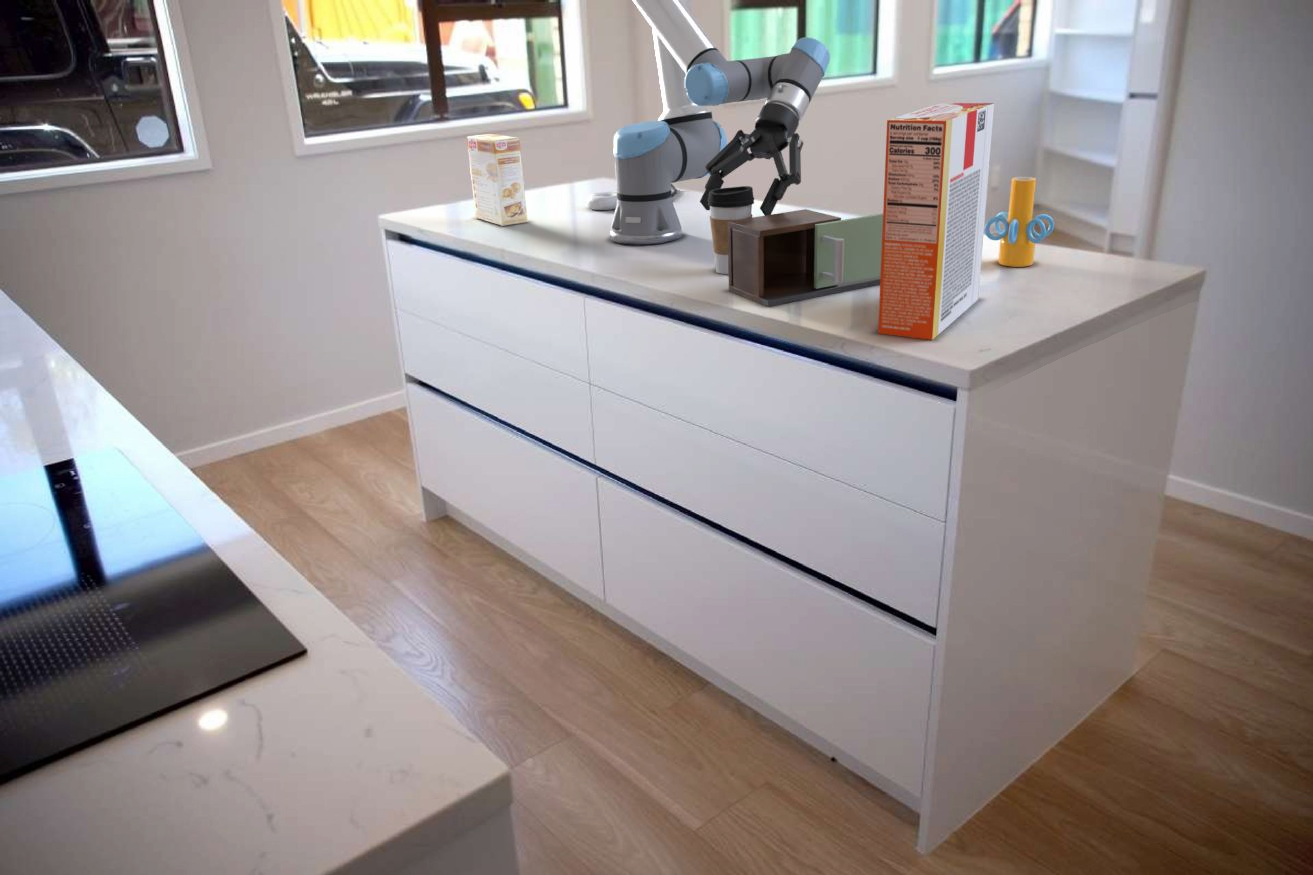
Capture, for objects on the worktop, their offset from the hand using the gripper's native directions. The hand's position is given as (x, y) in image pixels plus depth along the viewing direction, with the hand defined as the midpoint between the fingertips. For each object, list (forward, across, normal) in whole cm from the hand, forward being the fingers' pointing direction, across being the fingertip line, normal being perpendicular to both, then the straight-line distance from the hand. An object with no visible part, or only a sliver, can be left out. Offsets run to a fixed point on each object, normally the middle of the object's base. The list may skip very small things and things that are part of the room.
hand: (733, 209), depth 181 cm
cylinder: (-13, +42, +28) cm, 52 cm away
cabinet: (+10, +19, +6) cm, 22 cm away
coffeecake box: (+1, -78, +16) cm, 79 cm away
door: (+8, +28, +5) cm, 30 cm away
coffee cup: (+9, 0, +7) cm, 11 cm away
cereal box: (+14, +44, +2) cm, 46 cm away
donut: (-16, -65, +33) cm, 75 cm away
